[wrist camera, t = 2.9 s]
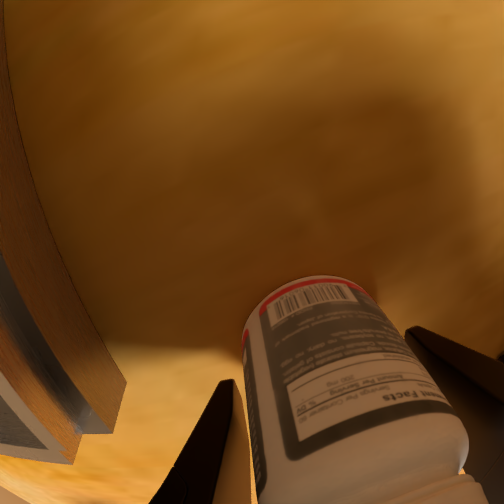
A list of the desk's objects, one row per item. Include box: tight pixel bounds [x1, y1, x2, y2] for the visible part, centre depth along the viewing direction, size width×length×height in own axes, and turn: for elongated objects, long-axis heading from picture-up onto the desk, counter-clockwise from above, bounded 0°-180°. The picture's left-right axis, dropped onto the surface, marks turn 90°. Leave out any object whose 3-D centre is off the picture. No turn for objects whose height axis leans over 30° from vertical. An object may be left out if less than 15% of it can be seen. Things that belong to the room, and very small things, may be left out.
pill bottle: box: [241, 275, 489, 504], centre depth 7 cm, size 5×5×8 cm
